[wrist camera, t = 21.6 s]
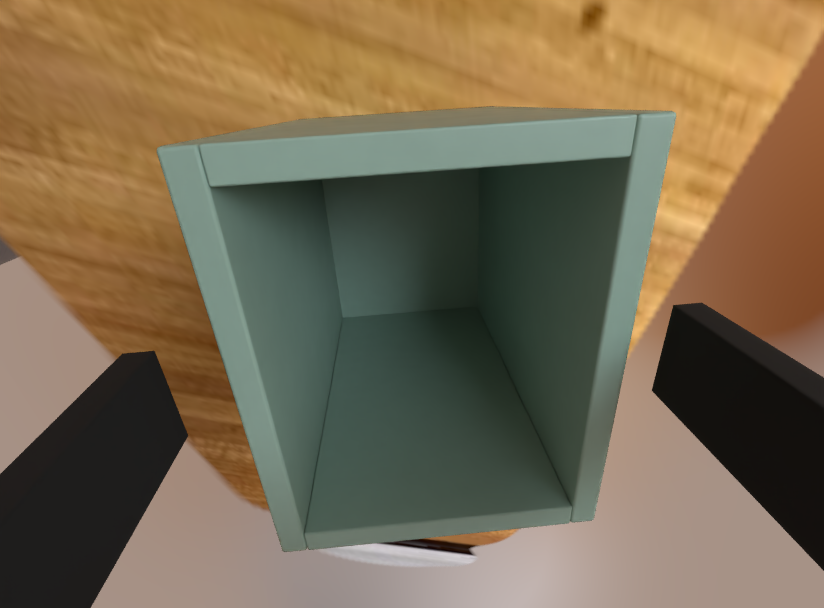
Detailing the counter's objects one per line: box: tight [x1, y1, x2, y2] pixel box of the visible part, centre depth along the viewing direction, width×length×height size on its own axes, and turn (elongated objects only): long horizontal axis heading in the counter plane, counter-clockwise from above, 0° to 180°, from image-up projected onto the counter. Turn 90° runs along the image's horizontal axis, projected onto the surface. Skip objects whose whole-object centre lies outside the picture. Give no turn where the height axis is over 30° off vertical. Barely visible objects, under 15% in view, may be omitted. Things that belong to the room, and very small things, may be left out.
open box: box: [157, 106, 676, 552], centre depth 17 cm, size 15×10×12 cm
